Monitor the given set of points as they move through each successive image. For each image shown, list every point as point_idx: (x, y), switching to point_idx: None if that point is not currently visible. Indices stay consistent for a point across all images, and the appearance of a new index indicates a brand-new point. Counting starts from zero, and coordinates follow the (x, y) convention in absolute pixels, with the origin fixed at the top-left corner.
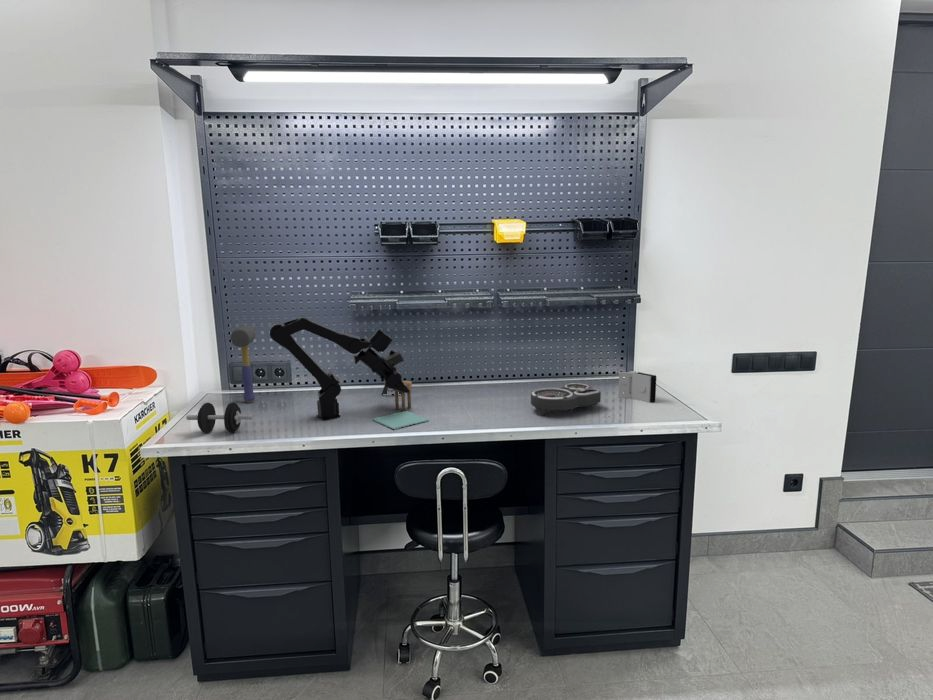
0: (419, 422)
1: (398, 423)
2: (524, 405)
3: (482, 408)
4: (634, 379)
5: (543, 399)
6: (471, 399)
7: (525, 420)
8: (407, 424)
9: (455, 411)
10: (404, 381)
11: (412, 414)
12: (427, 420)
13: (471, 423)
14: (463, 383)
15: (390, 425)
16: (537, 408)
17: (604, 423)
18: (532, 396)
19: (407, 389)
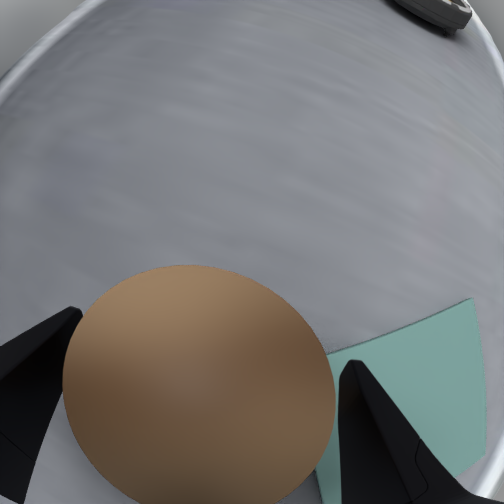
0: (480, 347)
1: (457, 438)
2: (362, 4)
3: (363, 59)
4: None
5: (468, 14)
6: (231, 36)
7: (474, 71)
8: (483, 402)
9: (375, 135)
10: (116, 345)
11: (379, 354)
12: (473, 306)
13: (499, 173)
14: (53, 35)
15: (457, 468)
16: (439, 23)
17: (477, 30)
18: (445, 4)
19: (375, 385)
